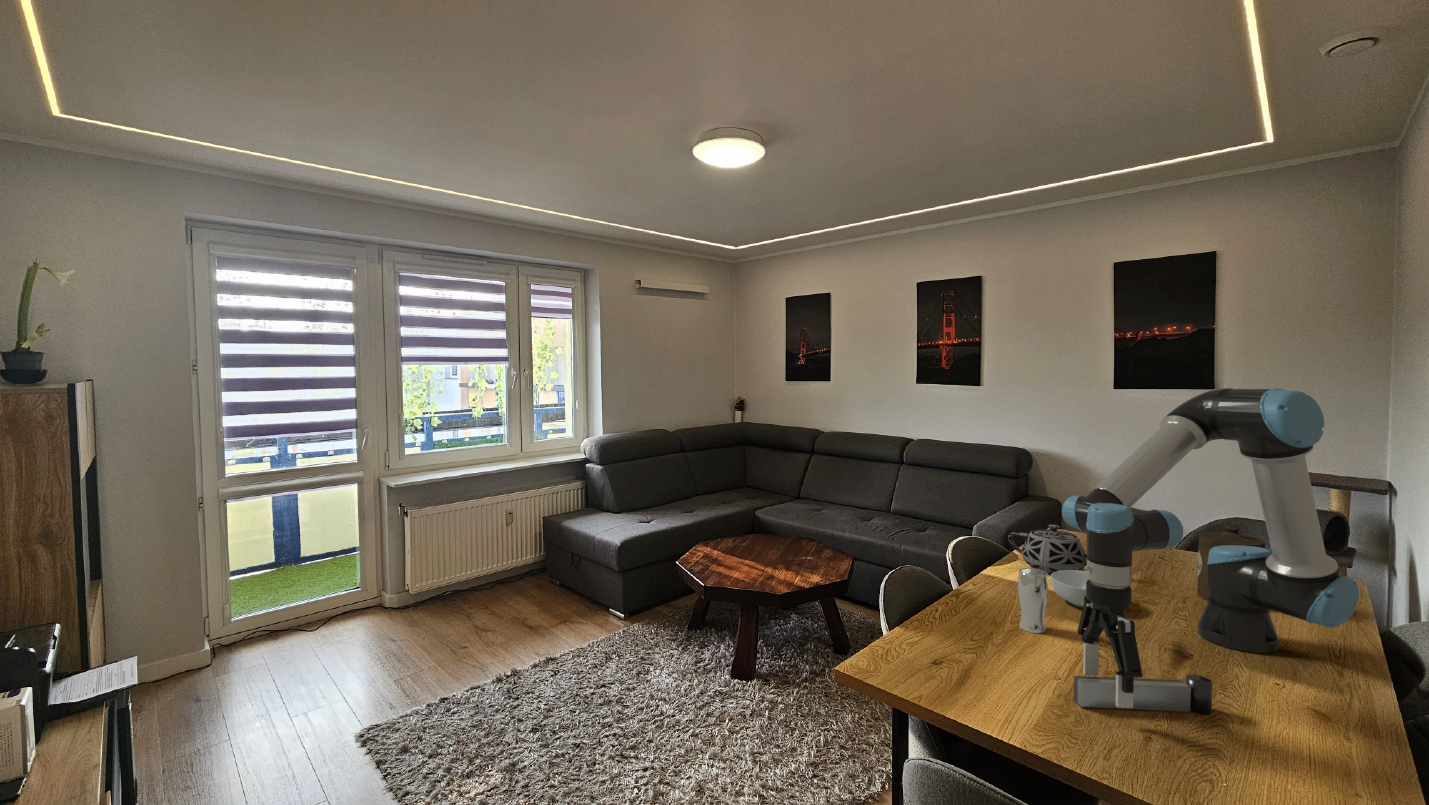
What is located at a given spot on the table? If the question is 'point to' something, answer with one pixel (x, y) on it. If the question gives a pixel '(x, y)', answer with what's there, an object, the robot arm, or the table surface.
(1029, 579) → the beer glass
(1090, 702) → the bar
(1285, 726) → the table surface
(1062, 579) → the cereal bowl
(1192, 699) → the blade
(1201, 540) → the brown lidded jar
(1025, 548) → the teapot
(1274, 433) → the robot arm
